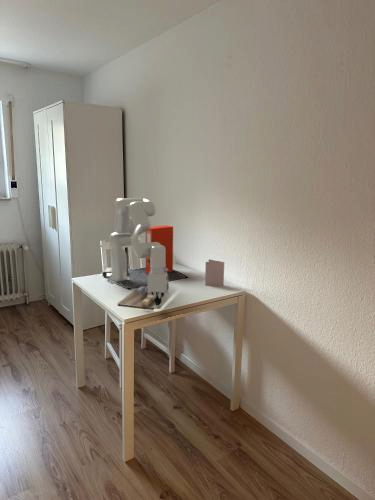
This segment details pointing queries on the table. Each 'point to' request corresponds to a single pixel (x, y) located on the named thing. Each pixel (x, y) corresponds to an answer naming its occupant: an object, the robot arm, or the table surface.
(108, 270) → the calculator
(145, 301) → the link
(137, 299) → the base plate
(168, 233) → the file binder
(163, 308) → the table surface
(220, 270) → the greeting card
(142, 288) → the bracket
